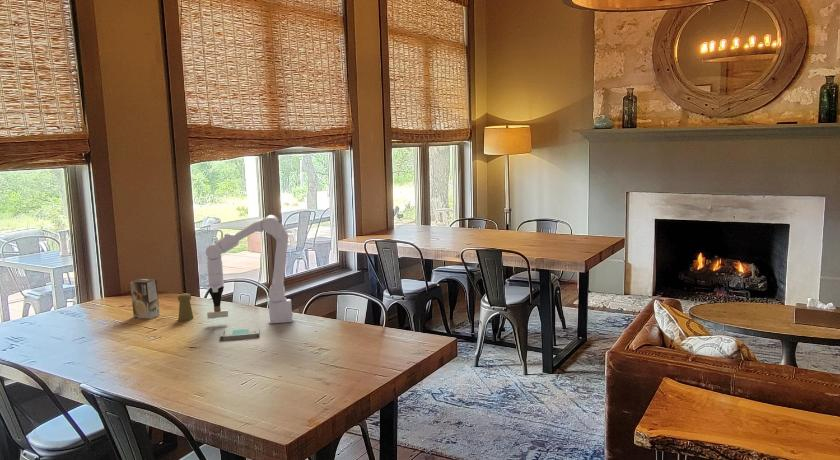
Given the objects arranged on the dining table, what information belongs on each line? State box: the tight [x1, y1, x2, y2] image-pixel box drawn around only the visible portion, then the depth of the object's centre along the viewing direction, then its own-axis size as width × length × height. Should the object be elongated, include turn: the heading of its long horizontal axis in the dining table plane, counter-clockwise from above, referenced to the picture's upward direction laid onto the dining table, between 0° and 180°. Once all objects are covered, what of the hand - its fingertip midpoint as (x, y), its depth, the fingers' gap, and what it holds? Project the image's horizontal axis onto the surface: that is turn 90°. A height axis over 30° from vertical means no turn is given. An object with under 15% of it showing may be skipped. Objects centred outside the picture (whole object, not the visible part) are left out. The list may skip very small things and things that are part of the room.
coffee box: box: [130, 278, 160, 320], centre depth 273 cm, size 9×6×16 cm
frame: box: [219, 325, 260, 342], centre depth 247 cm, size 14×10×2 cm
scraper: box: [206, 305, 229, 319], centre depth 260 cm, size 8×2×8 cm, turn 104°
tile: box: [231, 328, 250, 335], centre depth 248 cm, size 6×6×2 cm
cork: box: [177, 292, 194, 322], centre depth 268 cm, size 6×6×11 cm
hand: (217, 305), depth 260 cm, fingers closed on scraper, 2 cm apart
